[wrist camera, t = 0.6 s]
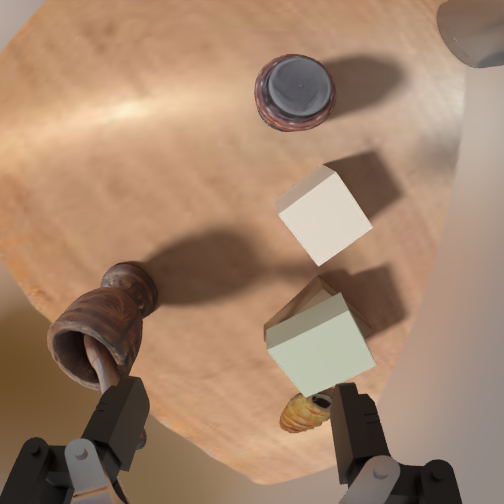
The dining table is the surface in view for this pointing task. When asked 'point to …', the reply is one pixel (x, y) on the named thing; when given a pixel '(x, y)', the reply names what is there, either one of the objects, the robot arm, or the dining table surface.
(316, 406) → the pastry
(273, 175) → the dining table surface
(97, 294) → the mortar and pestle
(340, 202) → the cream block
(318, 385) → the upper block
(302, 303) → the lower block
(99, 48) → the dining table surface
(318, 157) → the dining table surface
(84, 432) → the robot arm
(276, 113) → the supplement bottle
